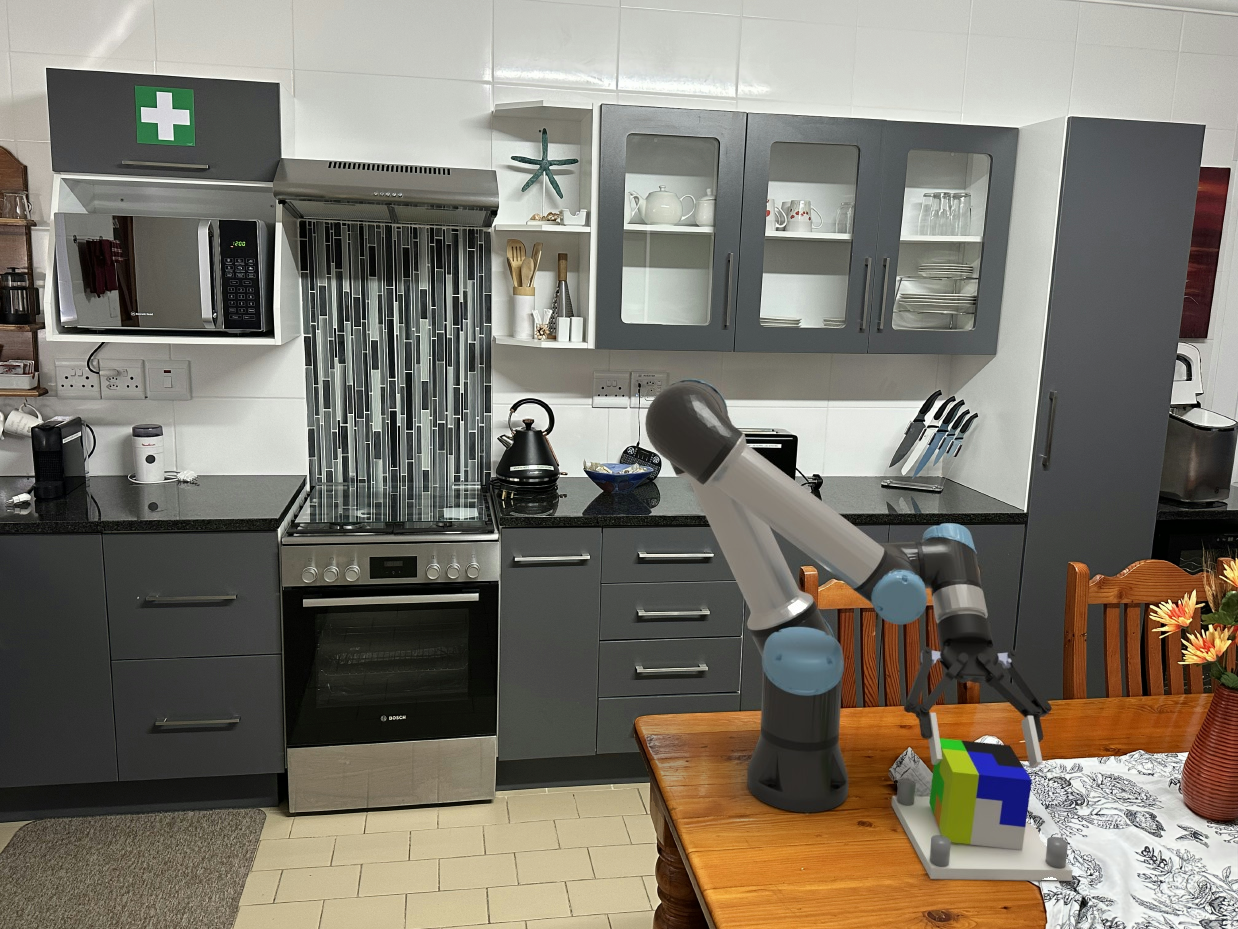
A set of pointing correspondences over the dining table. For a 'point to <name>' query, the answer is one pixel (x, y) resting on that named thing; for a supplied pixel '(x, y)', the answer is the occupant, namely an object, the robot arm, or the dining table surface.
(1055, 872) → the stub base
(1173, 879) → the dining table surface
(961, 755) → the puzzle toy
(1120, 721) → the dining table surface
